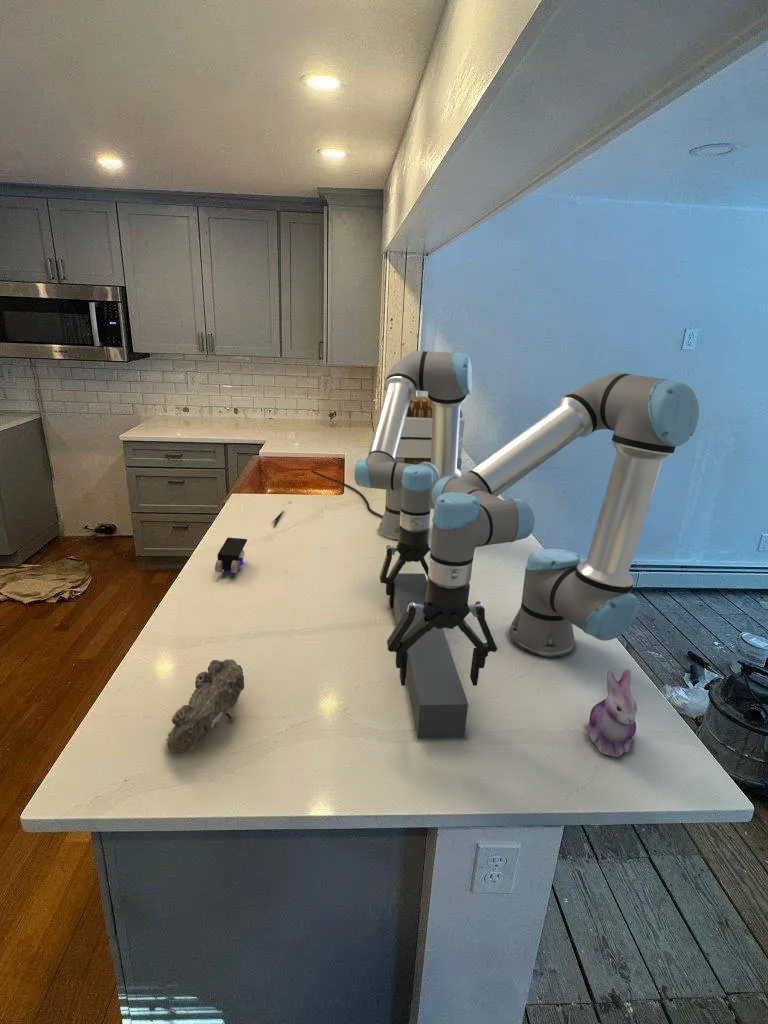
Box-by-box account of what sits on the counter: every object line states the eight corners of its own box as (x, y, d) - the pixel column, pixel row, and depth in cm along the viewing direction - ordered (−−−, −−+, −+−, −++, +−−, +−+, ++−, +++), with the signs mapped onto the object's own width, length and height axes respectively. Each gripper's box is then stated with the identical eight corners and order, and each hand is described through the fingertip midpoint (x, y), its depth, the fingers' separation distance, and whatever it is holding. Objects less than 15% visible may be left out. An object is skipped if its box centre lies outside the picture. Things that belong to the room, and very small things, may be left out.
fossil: (192, 660, 117) (244, 628, 112) (224, 691, 120) (276, 661, 115) (142, 746, 98) (202, 712, 93) (182, 779, 101) (242, 748, 96)
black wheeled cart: (238, 584, 162) (249, 557, 175) (236, 562, 158) (247, 536, 172) (215, 584, 161) (227, 556, 175) (212, 561, 158) (225, 535, 171)
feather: (290, 505, 227) (293, 501, 226) (273, 528, 200) (276, 524, 200) (286, 502, 226) (289, 498, 226) (269, 525, 200) (272, 521, 199)
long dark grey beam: (390, 598, 155) (392, 573, 153) (423, 598, 156) (424, 573, 154) (417, 738, 105) (419, 705, 102) (464, 737, 106) (468, 704, 103)
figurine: (615, 767, 100) (631, 697, 95) (572, 730, 109) (585, 664, 103) (651, 751, 104) (668, 682, 99) (607, 716, 113) (621, 652, 108)
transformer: (382, 463, 289) (386, 382, 275) (445, 464, 293) (451, 384, 279) (390, 482, 257) (394, 392, 243) (460, 483, 261) (468, 394, 247)
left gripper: (372, 532, 139) (369, 612, 146) (459, 533, 141) (452, 612, 148) (370, 521, 146) (367, 598, 154) (453, 522, 148) (446, 598, 155)
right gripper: (380, 588, 95) (373, 694, 102) (524, 590, 98) (508, 693, 105) (377, 569, 102) (371, 669, 109) (511, 571, 105) (497, 669, 112)
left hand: (409, 605), depth 151 cm, fingers closed on long dark grey beam, 9 cm apart
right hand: (438, 681), depth 107 cm, fingers open, 13 cm apart
